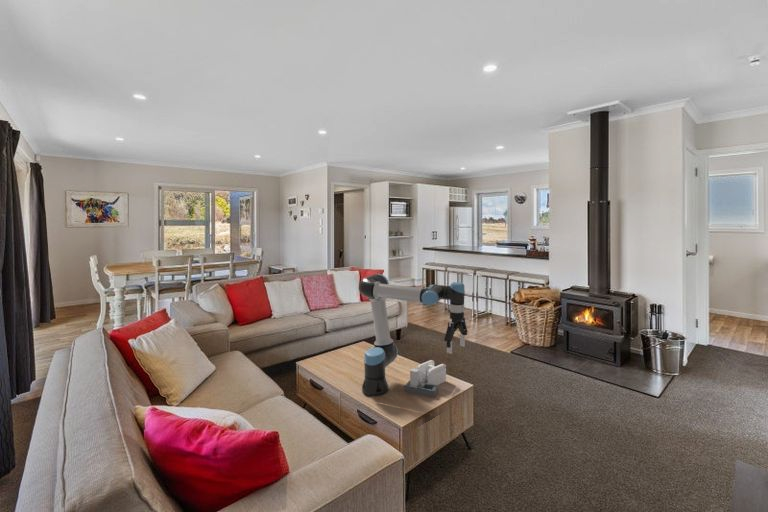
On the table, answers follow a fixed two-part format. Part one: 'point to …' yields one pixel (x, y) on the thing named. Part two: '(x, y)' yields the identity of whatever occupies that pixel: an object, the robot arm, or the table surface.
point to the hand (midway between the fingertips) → (455, 349)
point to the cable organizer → (432, 373)
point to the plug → (414, 377)
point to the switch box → (422, 389)
